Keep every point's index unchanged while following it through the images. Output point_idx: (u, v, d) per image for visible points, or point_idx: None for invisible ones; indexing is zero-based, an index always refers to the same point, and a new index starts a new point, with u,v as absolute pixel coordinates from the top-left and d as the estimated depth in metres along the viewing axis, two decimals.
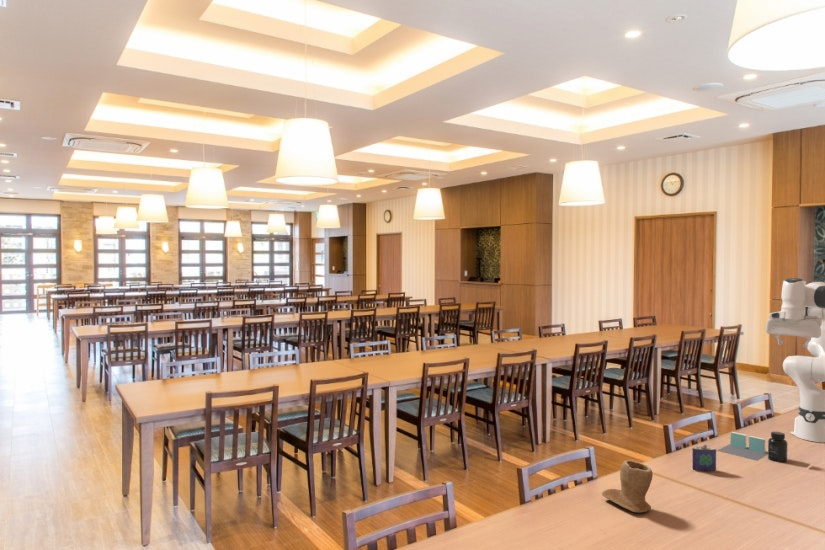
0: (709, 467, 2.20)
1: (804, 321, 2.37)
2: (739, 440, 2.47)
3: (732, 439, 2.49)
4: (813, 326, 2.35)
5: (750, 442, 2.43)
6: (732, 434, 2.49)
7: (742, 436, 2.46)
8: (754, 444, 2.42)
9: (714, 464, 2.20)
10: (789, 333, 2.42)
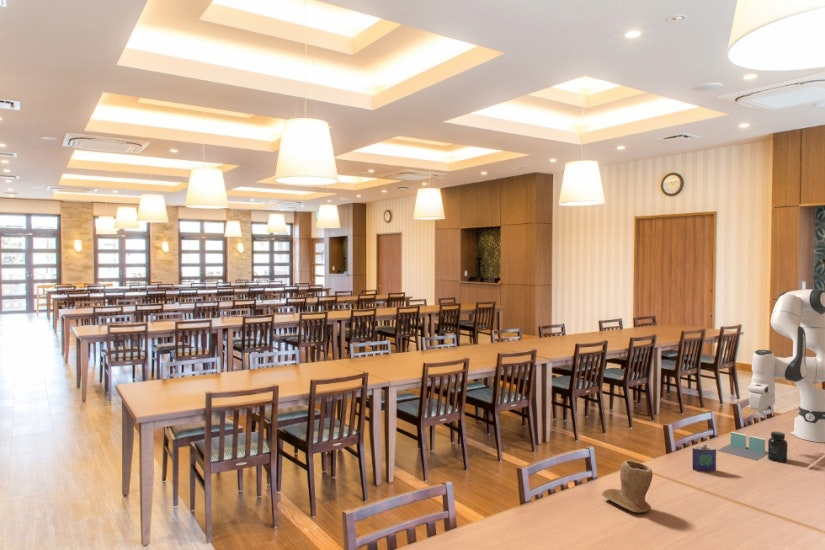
0: (709, 467, 2.20)
1: None
2: (739, 440, 2.47)
3: (732, 439, 2.49)
4: (773, 394, 2.50)
5: (750, 442, 2.43)
6: (732, 434, 2.49)
7: (742, 436, 2.46)
8: (754, 444, 2.42)
9: (714, 464, 2.20)
10: (766, 406, 2.44)
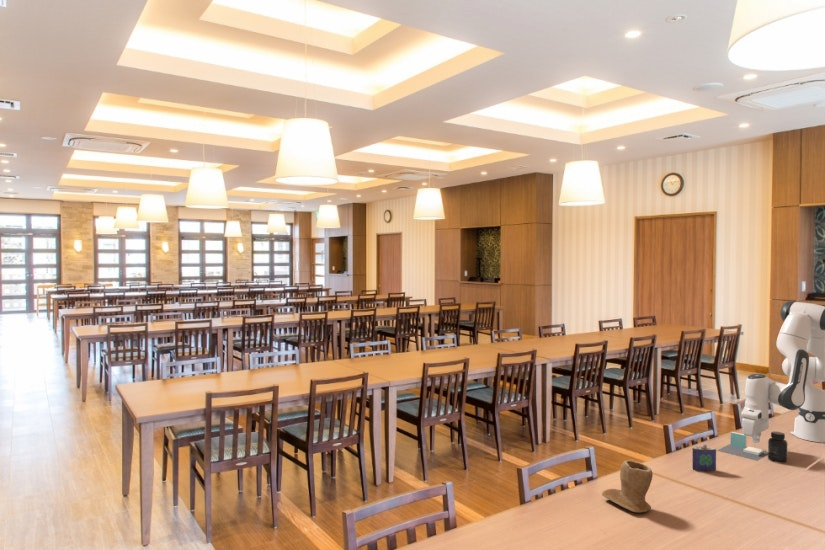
0: (709, 467, 2.20)
1: None
2: (739, 440, 2.47)
3: (732, 439, 2.49)
4: (767, 419, 2.45)
5: None
6: (732, 434, 2.49)
7: (742, 436, 2.46)
8: None
9: (714, 464, 2.20)
10: (760, 431, 2.39)
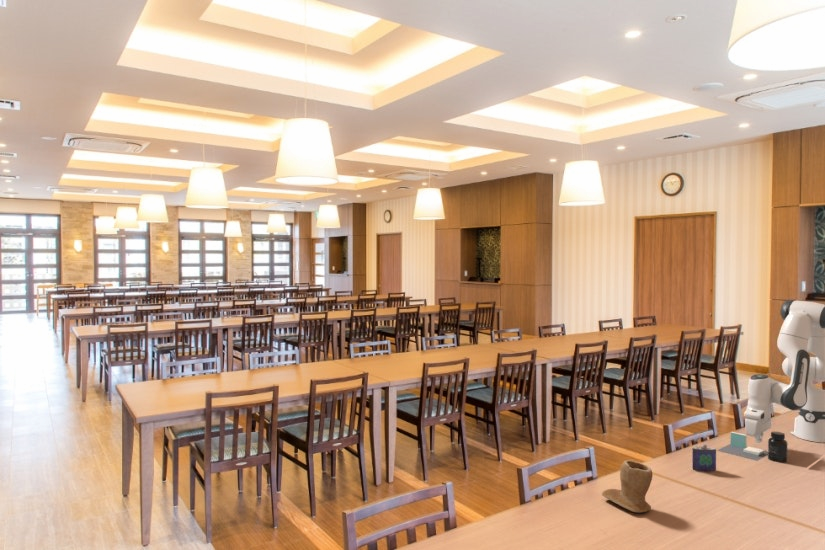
0: (709, 467, 2.20)
1: None
2: (739, 440, 2.47)
3: (732, 439, 2.49)
4: (770, 418, 2.47)
5: None
6: (732, 434, 2.49)
7: (742, 436, 2.46)
8: None
9: (714, 464, 2.20)
10: (762, 431, 2.41)
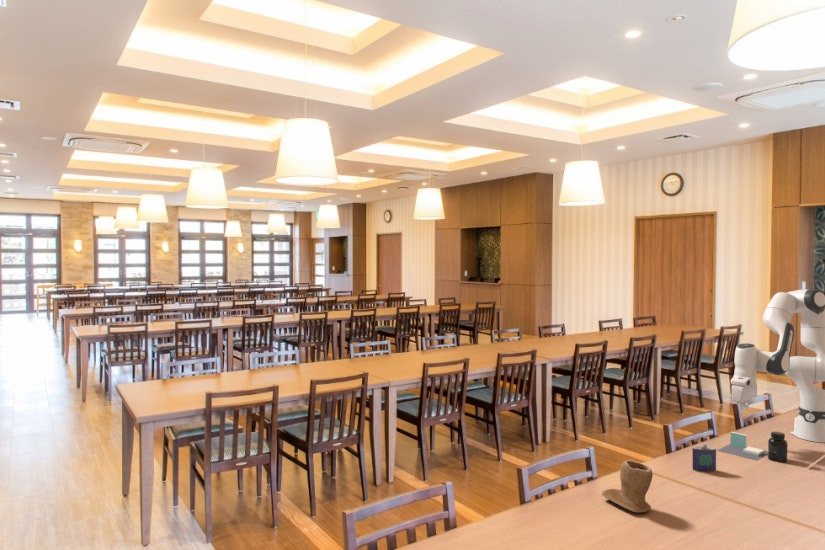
0: (709, 467, 2.20)
1: None
2: (739, 440, 2.47)
3: (732, 439, 2.49)
4: (756, 387, 2.55)
5: None
6: (732, 434, 2.49)
7: (742, 436, 2.46)
8: None
9: (714, 464, 2.20)
10: (748, 398, 2.50)
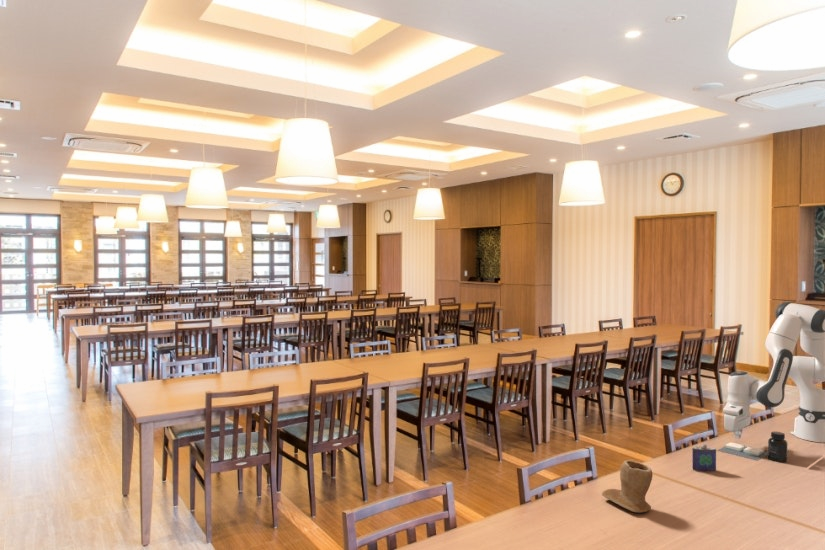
0: (709, 467, 2.20)
1: None
2: None
3: None
4: (749, 415, 2.51)
5: None
6: None
7: None
8: None
9: (714, 464, 2.20)
10: (741, 427, 2.45)
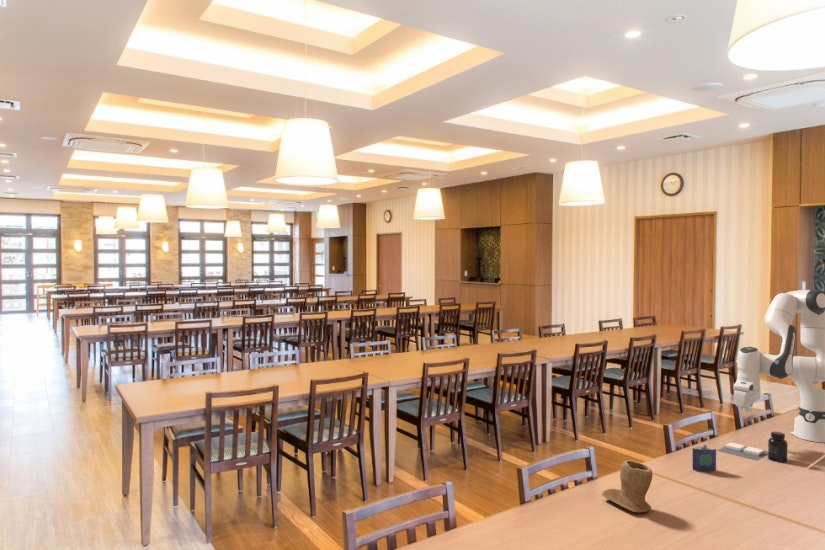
0: (709, 467, 2.20)
1: None
2: None
3: None
4: (759, 389, 2.54)
5: None
6: None
7: None
8: None
9: (714, 464, 2.20)
10: (751, 402, 2.48)
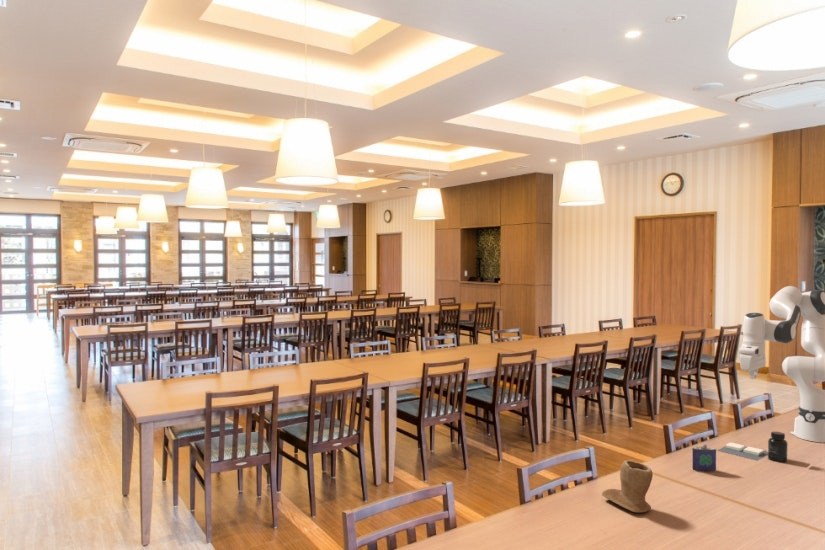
0: (709, 467, 2.20)
1: None
2: None
3: None
4: (764, 357, 2.54)
5: None
6: None
7: None
8: None
9: (714, 464, 2.20)
10: (757, 367, 2.48)
